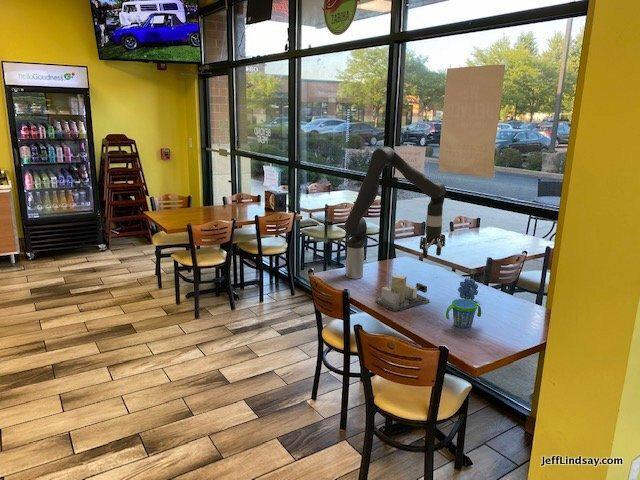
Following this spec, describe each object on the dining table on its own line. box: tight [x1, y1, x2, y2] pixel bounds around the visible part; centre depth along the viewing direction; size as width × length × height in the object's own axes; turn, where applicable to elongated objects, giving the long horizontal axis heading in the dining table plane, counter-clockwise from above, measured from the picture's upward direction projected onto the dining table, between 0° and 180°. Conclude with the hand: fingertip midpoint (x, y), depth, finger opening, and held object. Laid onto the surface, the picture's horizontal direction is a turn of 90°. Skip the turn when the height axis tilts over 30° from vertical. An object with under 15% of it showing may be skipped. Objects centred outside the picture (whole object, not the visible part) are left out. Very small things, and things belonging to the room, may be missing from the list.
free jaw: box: [405, 282, 428, 301], centre depth 235 cm, size 10×11×6 cm
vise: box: [375, 286, 431, 312], centre depth 231 cm, size 14×22×8 cm, turn 122°
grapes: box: [457, 277, 479, 301], centre depth 232 cm, size 12×7×12 cm, turn 111°
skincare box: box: [390, 273, 408, 303], centre depth 228 cm, size 6×4×12 cm
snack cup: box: [445, 298, 482, 329], centre depth 206 cm, size 16×10×10 cm
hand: (431, 256), depth 235 cm, fingers open, 8 cm apart
